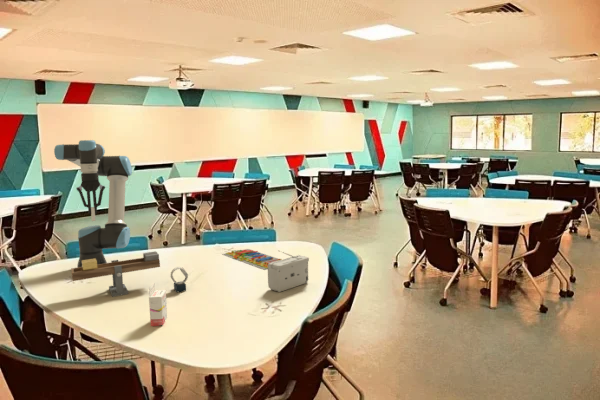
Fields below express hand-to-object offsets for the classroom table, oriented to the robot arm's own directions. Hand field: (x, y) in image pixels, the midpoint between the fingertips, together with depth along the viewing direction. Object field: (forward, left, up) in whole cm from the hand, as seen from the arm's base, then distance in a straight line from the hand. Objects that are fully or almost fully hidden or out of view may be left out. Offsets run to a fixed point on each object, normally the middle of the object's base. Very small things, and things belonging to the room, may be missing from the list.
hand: (93, 220), depth 226 cm
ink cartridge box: (+64, +16, -33) cm, 74 cm away
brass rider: (+17, -4, -21) cm, 27 cm away
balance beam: (+17, +7, -22) cm, 29 cm away
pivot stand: (+17, +7, -32) cm, 37 cm away
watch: (+30, +33, -33) cm, 55 cm away
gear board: (-2, +86, -33) cm, 92 cm away
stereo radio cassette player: (+53, +80, -33) cm, 101 cm away
